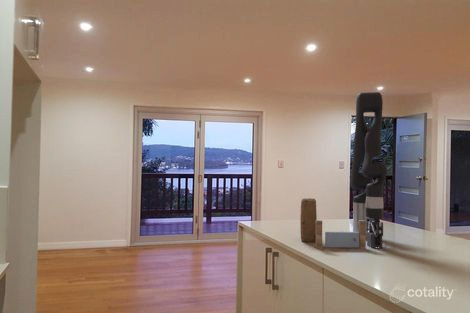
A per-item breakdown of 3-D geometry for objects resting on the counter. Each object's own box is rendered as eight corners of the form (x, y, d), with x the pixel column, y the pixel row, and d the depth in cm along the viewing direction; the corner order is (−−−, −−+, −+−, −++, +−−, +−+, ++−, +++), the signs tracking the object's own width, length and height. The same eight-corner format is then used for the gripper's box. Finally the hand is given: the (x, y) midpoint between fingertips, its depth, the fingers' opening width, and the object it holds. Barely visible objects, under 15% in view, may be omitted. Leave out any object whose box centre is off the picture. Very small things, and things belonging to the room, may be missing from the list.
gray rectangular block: (367, 245, 175) (367, 232, 175) (378, 245, 175) (378, 232, 175) (371, 248, 170) (371, 234, 170) (382, 248, 170) (382, 234, 170)
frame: (315, 247, 170) (315, 220, 170) (363, 247, 170) (363, 220, 171) (316, 248, 168) (316, 220, 168) (365, 248, 168) (365, 221, 168)
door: (325, 246, 170) (325, 231, 170) (357, 246, 170) (357, 231, 170) (326, 247, 167) (326, 232, 167) (359, 248, 167) (360, 233, 167)
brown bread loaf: (317, 242, 180) (317, 199, 180) (300, 242, 181) (300, 199, 181) (315, 238, 191) (315, 197, 191) (300, 237, 192) (300, 197, 192)
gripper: (389, 208, 166) (389, 247, 165) (376, 205, 180) (376, 240, 180) (371, 208, 166) (371, 247, 165) (360, 205, 180) (360, 240, 180)
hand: (374, 243), depth 173 cm, fingers open, 7 cm apart
